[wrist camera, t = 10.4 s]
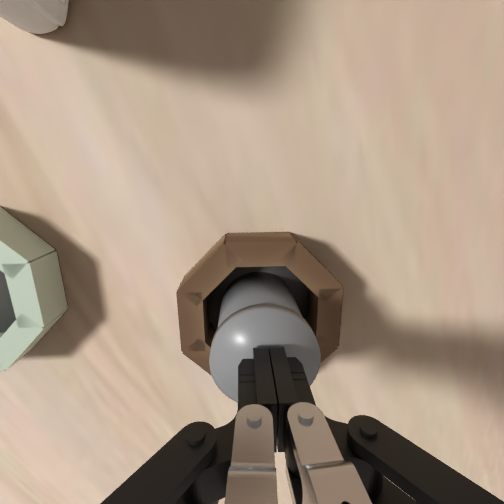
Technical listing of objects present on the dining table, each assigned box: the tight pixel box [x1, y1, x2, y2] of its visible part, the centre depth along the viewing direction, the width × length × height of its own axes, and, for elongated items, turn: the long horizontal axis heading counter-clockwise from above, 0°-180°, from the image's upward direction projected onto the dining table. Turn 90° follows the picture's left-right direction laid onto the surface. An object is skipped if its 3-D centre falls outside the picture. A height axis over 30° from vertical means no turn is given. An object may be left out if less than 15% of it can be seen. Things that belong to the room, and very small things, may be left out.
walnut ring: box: [177, 232, 343, 375], centre depth 19 cm, size 10×10×2 cm
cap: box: [209, 272, 321, 402], centre depth 17 cm, size 5×5×6 cm
